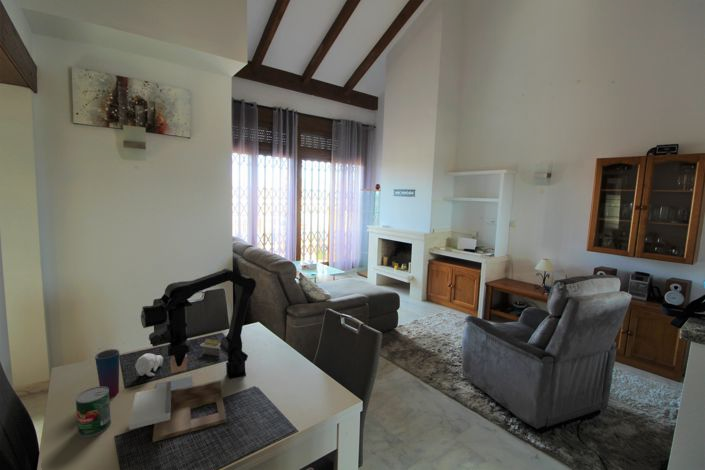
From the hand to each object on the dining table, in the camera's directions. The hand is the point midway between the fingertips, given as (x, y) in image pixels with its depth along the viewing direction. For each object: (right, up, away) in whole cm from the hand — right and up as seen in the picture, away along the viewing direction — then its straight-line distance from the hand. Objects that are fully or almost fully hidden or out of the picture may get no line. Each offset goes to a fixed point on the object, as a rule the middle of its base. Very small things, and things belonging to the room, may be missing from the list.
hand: (178, 362), depth 117 cm
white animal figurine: (-19, -10, +16) cm, 26 cm away
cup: (-25, -12, +1) cm, 27 cm away
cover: (0, -8, -15) cm, 17 cm away
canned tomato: (-17, -14, -16) cm, 27 cm away
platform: (-1, -9, +31) cm, 32 cm away
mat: (-4, -11, +4) cm, 13 cm away
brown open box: (+9, -14, -9) cm, 19 cm away
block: (0, -2, 0) cm, 2 cm away
